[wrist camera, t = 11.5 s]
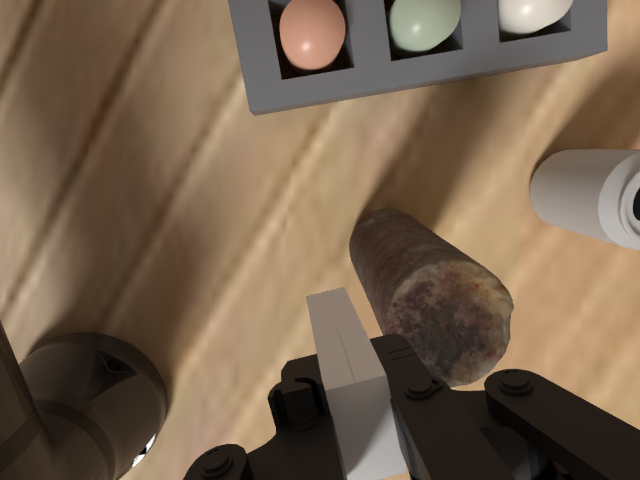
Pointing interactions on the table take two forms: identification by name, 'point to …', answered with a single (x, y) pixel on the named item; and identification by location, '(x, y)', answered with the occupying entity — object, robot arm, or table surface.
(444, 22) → the pale green egg
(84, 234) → the table surface
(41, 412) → the robot arm
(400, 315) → the dark brown tall cylinder
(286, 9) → the pinkish-brown oval egg
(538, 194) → the can
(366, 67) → the grey egg tray
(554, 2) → the white egg
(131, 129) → the table surface
